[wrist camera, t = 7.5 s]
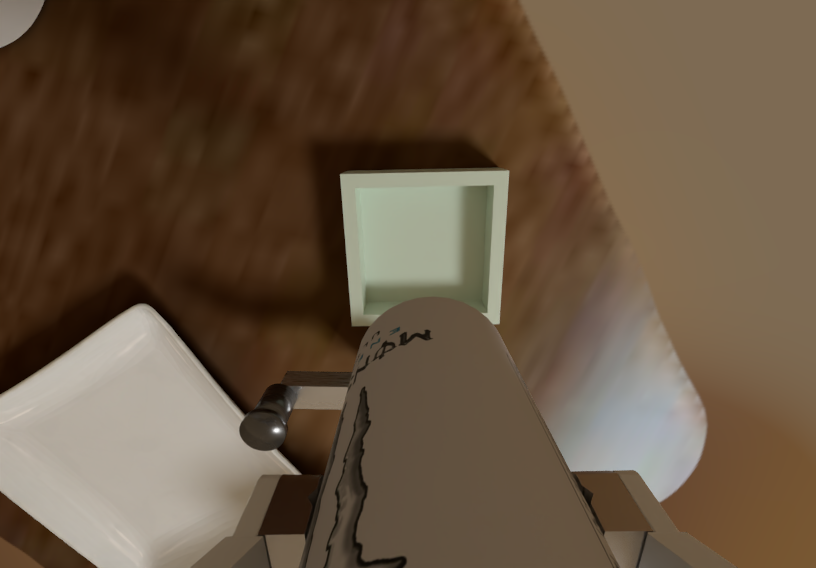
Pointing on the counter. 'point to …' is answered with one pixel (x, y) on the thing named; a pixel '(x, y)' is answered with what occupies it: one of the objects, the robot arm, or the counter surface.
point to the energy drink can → (446, 457)
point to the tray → (424, 237)
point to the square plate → (130, 448)
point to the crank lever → (291, 405)
